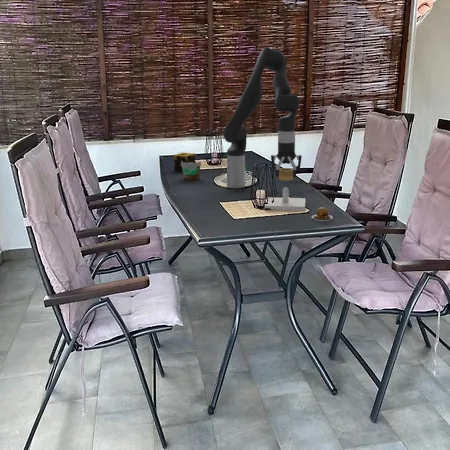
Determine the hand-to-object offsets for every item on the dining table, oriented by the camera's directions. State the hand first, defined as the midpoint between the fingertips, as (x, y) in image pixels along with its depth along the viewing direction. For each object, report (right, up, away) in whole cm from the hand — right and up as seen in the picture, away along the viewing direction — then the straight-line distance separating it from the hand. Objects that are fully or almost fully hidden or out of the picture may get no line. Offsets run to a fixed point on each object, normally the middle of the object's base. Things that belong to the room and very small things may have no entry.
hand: (286, 177), depth 229 cm
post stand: (0, -13, +4) cm, 14 cm away
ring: (0, -1, 0) cm, 1 cm away
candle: (-52, +13, +85) cm, 101 cm away
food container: (-48, +4, +59) cm, 76 cm away
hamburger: (+14, -20, -14) cm, 28 cm away
